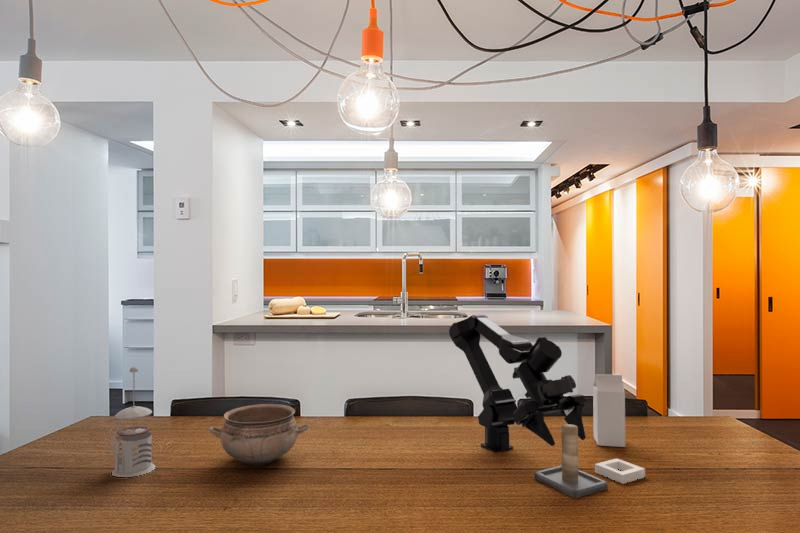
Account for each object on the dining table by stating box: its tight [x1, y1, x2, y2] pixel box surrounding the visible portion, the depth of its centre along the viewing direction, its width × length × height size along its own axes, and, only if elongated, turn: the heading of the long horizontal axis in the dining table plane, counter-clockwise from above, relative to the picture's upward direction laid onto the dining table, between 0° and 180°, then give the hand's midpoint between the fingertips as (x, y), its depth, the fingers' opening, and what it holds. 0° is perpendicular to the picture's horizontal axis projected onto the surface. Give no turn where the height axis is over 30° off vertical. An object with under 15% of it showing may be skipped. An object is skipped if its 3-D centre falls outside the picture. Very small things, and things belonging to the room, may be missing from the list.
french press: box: [106, 366, 157, 477], centre depth 124 cm, size 10×12×25 cm
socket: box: [594, 457, 646, 485], centre depth 121 cm, size 8×8×2 cm
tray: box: [534, 464, 609, 499], centre depth 116 cm, size 12×10×2 cm
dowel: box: [561, 423, 579, 483], centre depth 116 cm, size 4×4×12 cm
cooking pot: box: [208, 403, 311, 467], centre depth 131 cm, size 25×19×12 cm
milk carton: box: [592, 373, 626, 448], centre depth 144 cm, size 7×7×19 cm
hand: (569, 442), depth 116 cm, fingers open, 9 cm apart
